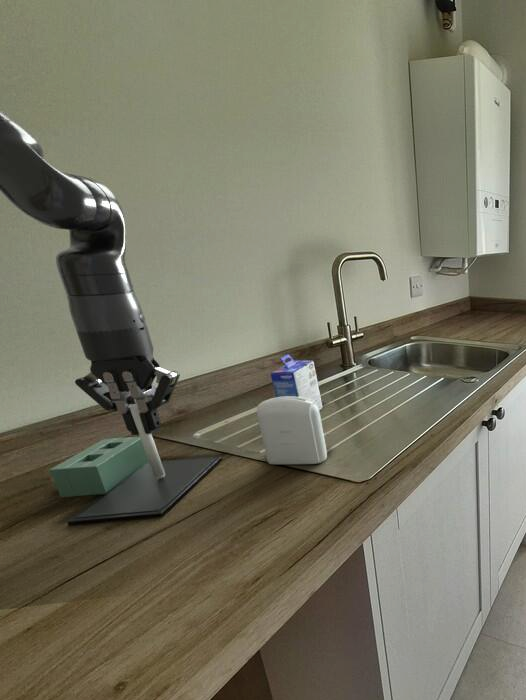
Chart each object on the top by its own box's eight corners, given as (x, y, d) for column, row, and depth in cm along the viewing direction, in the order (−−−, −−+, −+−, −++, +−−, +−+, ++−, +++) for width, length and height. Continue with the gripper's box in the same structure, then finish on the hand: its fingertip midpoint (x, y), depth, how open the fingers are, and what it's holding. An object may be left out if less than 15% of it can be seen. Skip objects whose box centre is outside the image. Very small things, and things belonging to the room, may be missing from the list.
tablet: (68, 525, 58) (66, 521, 57) (149, 465, 74) (148, 461, 73) (162, 517, 59) (161, 512, 59) (222, 460, 75) (221, 456, 75)
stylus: (153, 480, 67) (126, 406, 62) (159, 476, 68) (132, 402, 64) (162, 480, 67) (136, 405, 63) (168, 475, 69) (142, 402, 64)
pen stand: (60, 497, 64) (48, 469, 63) (113, 463, 74) (104, 438, 73) (106, 493, 65) (96, 466, 64) (152, 460, 75) (144, 436, 74)
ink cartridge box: (300, 408, 99) (289, 350, 95) (323, 408, 99) (313, 350, 95) (279, 425, 90) (266, 361, 85) (305, 424, 90) (293, 361, 85)
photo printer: (263, 466, 73) (249, 401, 69) (277, 454, 77) (264, 393, 73) (320, 466, 73) (309, 401, 69) (331, 454, 77) (321, 393, 73)
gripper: (33, 331, 55) (78, 446, 61) (145, 327, 57) (178, 439, 63) (80, 321, 62) (116, 425, 68) (178, 319, 64) (206, 420, 70)
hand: (146, 432), depth 65 cm, fingers closed on stylus, 1 cm apart
